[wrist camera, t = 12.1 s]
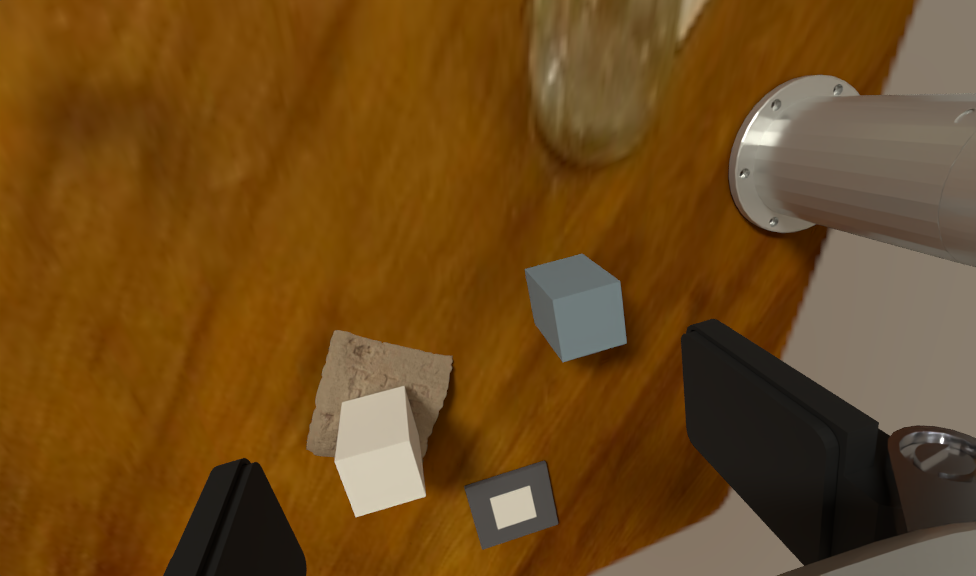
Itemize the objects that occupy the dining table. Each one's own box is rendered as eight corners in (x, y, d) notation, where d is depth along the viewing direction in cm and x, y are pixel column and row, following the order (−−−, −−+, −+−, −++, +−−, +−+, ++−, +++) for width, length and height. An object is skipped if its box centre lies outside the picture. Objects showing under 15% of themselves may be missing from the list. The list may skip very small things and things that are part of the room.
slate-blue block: (582, 253, 41) (620, 281, 35) (589, 307, 43) (626, 343, 36) (524, 269, 40) (552, 300, 34) (534, 323, 42) (562, 362, 36)
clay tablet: (413, 473, 46) (415, 494, 44) (300, 460, 43) (295, 482, 41) (457, 335, 42) (462, 349, 40) (336, 310, 39) (333, 324, 37)
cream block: (404, 385, 40) (409, 440, 33) (418, 435, 42) (426, 496, 35) (341, 402, 39) (334, 461, 33) (359, 452, 41) (355, 517, 35)
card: (544, 460, 48) (546, 463, 47) (557, 521, 51) (558, 524, 50) (464, 486, 47) (465, 489, 46) (481, 546, 50) (482, 550, 49)
